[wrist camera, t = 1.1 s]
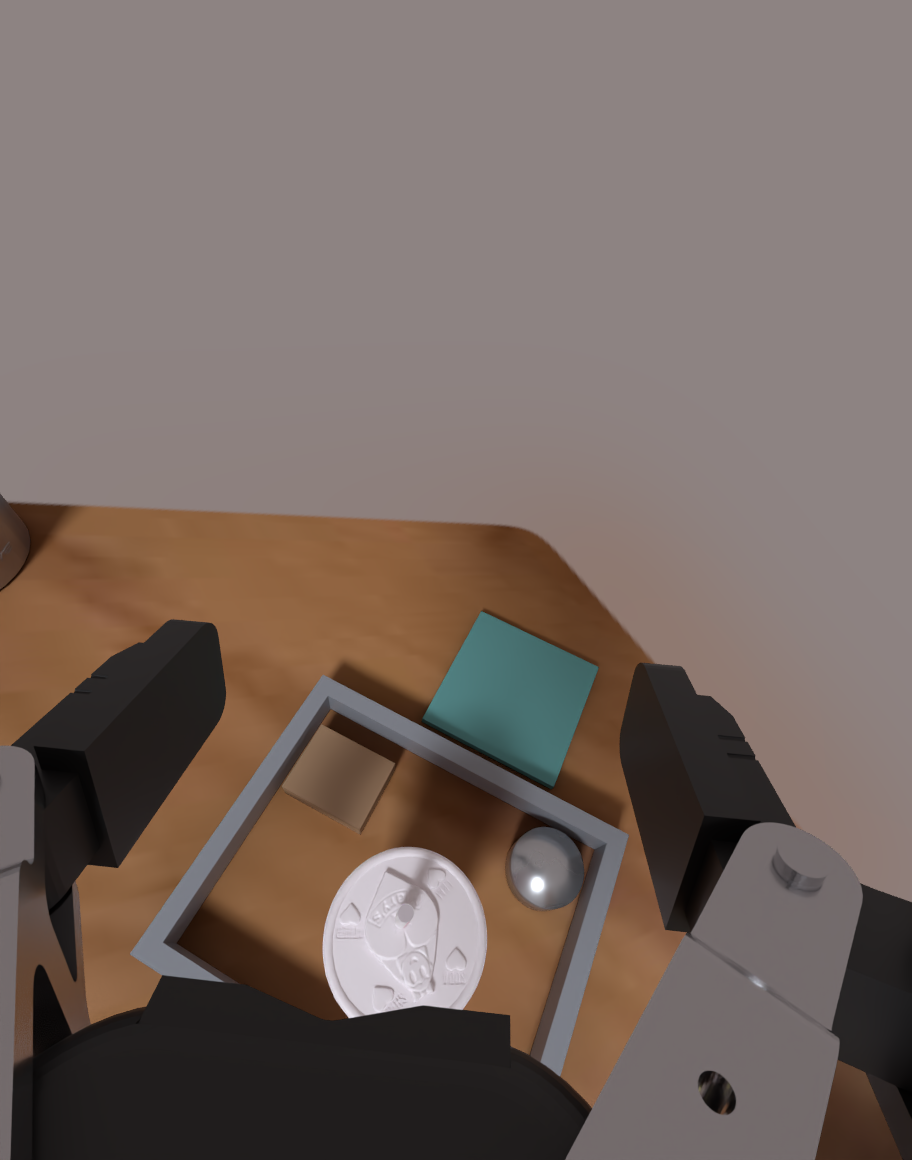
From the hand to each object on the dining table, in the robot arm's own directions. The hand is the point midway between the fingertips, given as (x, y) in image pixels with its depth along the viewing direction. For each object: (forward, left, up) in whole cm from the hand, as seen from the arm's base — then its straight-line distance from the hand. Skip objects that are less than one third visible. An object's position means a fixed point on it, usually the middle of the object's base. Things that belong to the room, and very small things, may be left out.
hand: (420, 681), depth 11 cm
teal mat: (+2, +12, -25) cm, 28 cm away
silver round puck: (+8, +3, -25) cm, 27 cm away
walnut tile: (-5, +2, -26) cm, 26 cm away
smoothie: (+2, -3, -25) cm, 26 cm away
